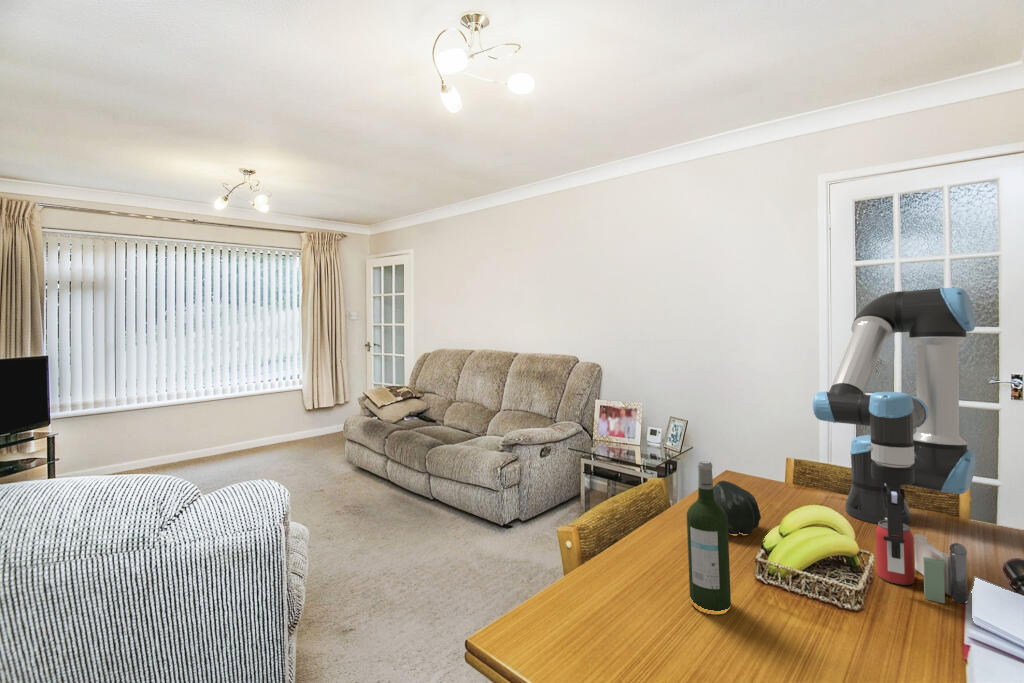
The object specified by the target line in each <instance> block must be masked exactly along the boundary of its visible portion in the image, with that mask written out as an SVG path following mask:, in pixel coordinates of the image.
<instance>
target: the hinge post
mask: <svg viewBox="0 0 1024 683" xmlns="http://www.w3.org/2000/svg"><path fill="white" fill-rule="evenodd" d="M967 553H968V549H967V548H966V547H965V546H964V544H961V543H958V542H955V543H951V544H950V545H949V554H950V562H951V595H950V596H951V597H950V598H952V599H953V600H954V601H953V600H952V599H951V600H952V601H953V602H955V601H956V602H955V603H958V602H959V603H958V604H962V603H964V605H965V602H966V601H967V600H968V571H967V570H968V568H967V563H968V562H967Z"/></svg>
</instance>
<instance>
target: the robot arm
mask: <svg viewBox="0 0 1024 683" xmlns="http://www.w3.org/2000/svg"><path fill="white" fill-rule="evenodd" d="M975 321H976V320H975V313H974V308H973V305H972V302H971V298H970V295H969V294H968V292H967V291H966V290H965V289H964V288H961V287H960V288H959V287H939V288H929V289H928V288H927V289H919V290H918V289H917V290H916V289H915V290H907V291H906V290H905V291H904V290H902V291H900V290H899V291H891V292H889V293H885V294H882V295H880V296H879V297H877V298H875V299H872V301H870V302H869V303H867V304H866V305H865V306H863V308H862V309H861V310H860V311H859V312H858V313H857V315H855V317H854V320H853V321H852V323H851V332H852V336H851V337H850V340H849V342H848V344H847V347H846V349H845V351H844V354H843V357H842V359H841V362H840V364H839V367H838V369H837V371H836V374H835V376H834V379H833V381H832V383H831V386H830V388H829V390H828V391H826V390H825V391H820V392H817V393H815V395H814V397H813V400H812V410H813V415H814V416H815V418H816V419H817V420H819V421H823V422H829V423H833V424H836V423H837V424H838V423H839V424H848V425H860V426H868V427H869V428H870V431H869V432H870V433H869V434H865V435H859V436H858V435H857V436H856V437H854V438H853V439H851V442H850V444H851V445H850V466H851V467H850V468H851V487H850V489H849V492H848V495H847V498H846V501H845V505H844V506H845V512H846V513H847V514H848V515H849V516H850V517H852V518H855V519H858V520H860V521H864V522H867V523H871V524H877V525H878V522H880V521H882V520H887V525H888V537H885V536H884V540H885V541H887V557H888V571H891V572H896V573H901V574H904V542H905V540H904V537H903V523H904V524H906V525H907V524H909V523H911V519H912V518H911V515H912V514H911V510H910V508H909V506H908V503H907V501H906V494H905V489H904V488H903V486H908V487H913V488H920V489H926V490H932V491H936V492H941V493H943V494H945V493H949V494H957V495H962V494H965V493H967V491H969V489H970V488H971V484H972V481H973V478H974V475H975V474H974V473H975V468H976V464H977V460H976V457H977V454H976V452H975V451H973V450H971V449H968V442H967V441H966V440H964V439H963V438H962V437H961V436H960V378H959V376H960V374H959V372H960V371H959V370H960V369H959V359H960V358H959V357H960V356H959V352H960V351H959V350H960V348H959V346H960V344H962V343H963V342H964V341H966V340H967V333H970V332H973V331H974V330H975V327H976V325H975V323H976V322H975ZM895 333H896V334H897V333H908V335H909V336H908V338H909V340H910V341H911V342H913V343H914V344H915V345H916V350H915V351H916V365H915V366H916V396H915V395H914V396H913V395H910V394H908V393H905V392H899V391H898V392H897V391H878V392H876V391H875V392H873V393H871V394H866V393H867V391H868V388H869V385H870V382H871V380H872V377H873V375H874V371H875V369H876V366H877V364H878V360H879V358H880V356H881V353H882V350H883V347H884V345H885V342H886V341H888V340H889V339H890V338H891V337H892V335H893V334H895ZM915 429H916V432H915V433H914V430H915ZM892 535H897V536H900V537H897V536H892Z"/></svg>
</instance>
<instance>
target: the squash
mask: <svg viewBox="0 0 1024 683" xmlns="http://www.w3.org/2000/svg"><path fill="white" fill-rule="evenodd" d="M713 491H714V499H715V502H716V503H717V504H719V505H720V506H721V507H722V508H723V509H724V511H725V513H726V514H727V517H728V533H730V534H738V535H740V534H739V532H740V533H743V534H750V535H751V534H752V532H753V530H755V529H757V528H758V527H759V525H760V521H761V518H762V516H761V512H760V509H759V505H758V502H757V500H756V498H755V496H754V495H753V494H752V493H751V492H750V491H748V490H746V489H744V488H742V487H740V486H739V485H737V484H734V482H733V483H732V482H731V481H730V482H729V481H726V480H719V481H718V482H717V483H716V484H715V485H713Z"/></svg>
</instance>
